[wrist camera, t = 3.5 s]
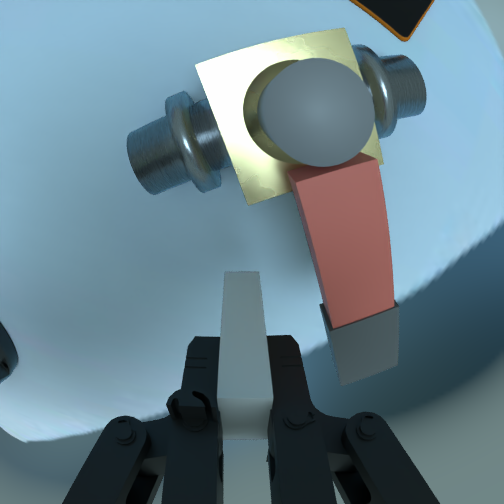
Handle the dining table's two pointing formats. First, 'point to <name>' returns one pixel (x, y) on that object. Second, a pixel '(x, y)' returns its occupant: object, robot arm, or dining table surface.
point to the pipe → (246, 118)
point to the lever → (339, 207)
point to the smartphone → (396, 14)
